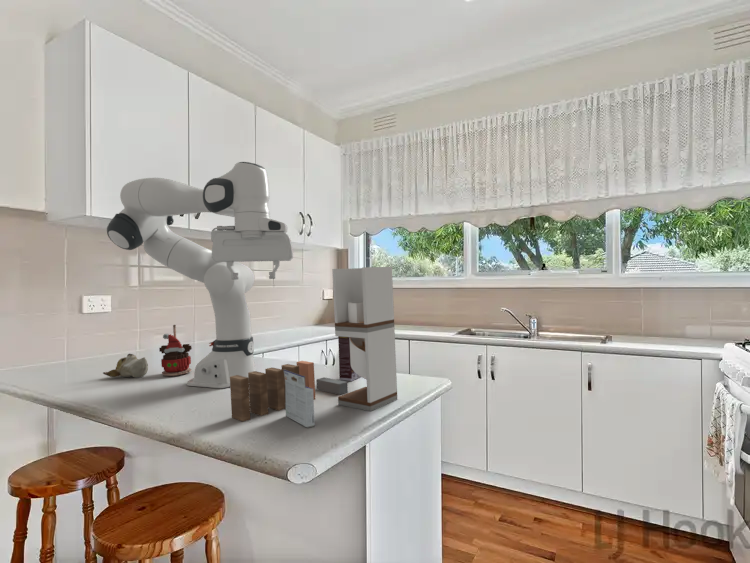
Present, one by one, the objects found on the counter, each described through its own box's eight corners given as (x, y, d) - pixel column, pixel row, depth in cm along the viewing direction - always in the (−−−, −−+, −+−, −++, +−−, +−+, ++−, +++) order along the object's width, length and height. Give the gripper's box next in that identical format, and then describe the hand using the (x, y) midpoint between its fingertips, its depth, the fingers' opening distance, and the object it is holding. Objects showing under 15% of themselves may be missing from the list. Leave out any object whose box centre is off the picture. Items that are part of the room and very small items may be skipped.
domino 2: (261, 416, 107) (259, 375, 107) (250, 412, 110) (248, 372, 110) (268, 413, 109) (266, 373, 108) (257, 410, 112) (255, 371, 112)
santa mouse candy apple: (195, 370, 165) (193, 322, 165) (188, 376, 156) (186, 325, 156) (165, 372, 164) (163, 324, 163) (156, 378, 154) (154, 327, 154)
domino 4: (294, 405, 114) (292, 367, 114) (283, 402, 118) (281, 365, 118) (300, 403, 116) (299, 366, 116) (289, 400, 119) (287, 364, 119)
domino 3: (278, 410, 111) (276, 371, 111) (267, 407, 114) (265, 368, 114) (285, 408, 112) (283, 369, 112) (273, 405, 116) (271, 367, 115)
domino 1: (242, 421, 103) (240, 379, 103) (231, 417, 107) (229, 376, 107) (250, 419, 105) (248, 377, 105) (239, 415, 108) (237, 375, 108)
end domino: (309, 401, 118) (307, 363, 118) (298, 398, 122) (296, 362, 121) (315, 399, 120) (313, 362, 119) (303, 396, 123) (302, 360, 123)
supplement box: (352, 381, 137) (349, 331, 137) (339, 380, 140) (336, 330, 139) (365, 375, 145) (363, 327, 145) (353, 374, 147) (351, 327, 147)
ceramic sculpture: (131, 355, 152) (99, 357, 157) (133, 380, 152) (101, 381, 157) (156, 350, 162) (125, 352, 167) (158, 374, 162) (127, 374, 167)
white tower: (366, 393, 123) (360, 268, 122) (397, 399, 116) (391, 266, 115) (338, 404, 114) (332, 269, 113) (370, 411, 107) (364, 267, 106)
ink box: (316, 426, 98) (313, 374, 98) (306, 428, 97) (304, 376, 97) (294, 414, 108) (291, 367, 107) (285, 416, 106) (282, 368, 106)
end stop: (339, 394, 123) (339, 384, 123) (316, 389, 130) (316, 379, 130) (347, 392, 125) (347, 381, 125) (324, 387, 132) (324, 377, 132)
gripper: (207, 224, 109) (209, 280, 109) (291, 223, 112) (292, 278, 112) (213, 227, 116) (215, 280, 116) (292, 226, 118) (294, 278, 118)
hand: (253, 279), depth 114 cm, fingers open, 8 cm apart
